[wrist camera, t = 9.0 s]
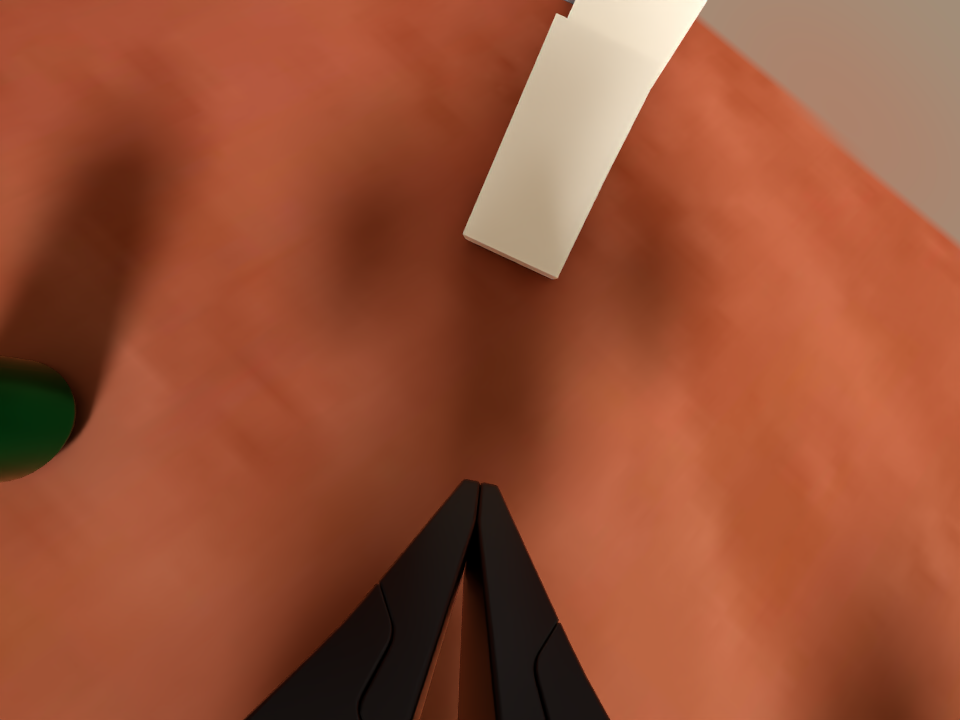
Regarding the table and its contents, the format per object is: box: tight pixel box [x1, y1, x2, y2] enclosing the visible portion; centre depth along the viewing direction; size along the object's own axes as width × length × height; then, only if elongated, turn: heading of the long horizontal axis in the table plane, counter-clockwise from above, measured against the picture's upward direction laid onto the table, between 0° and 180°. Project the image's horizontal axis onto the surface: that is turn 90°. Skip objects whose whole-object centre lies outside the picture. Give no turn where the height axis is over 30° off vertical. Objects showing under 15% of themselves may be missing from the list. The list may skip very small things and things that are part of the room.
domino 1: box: [463, 13, 661, 279], centre depth 18 cm, size 2×5×10 cm
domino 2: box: [568, 0, 696, 171], centre depth 19 cm, size 2×5×10 cm
